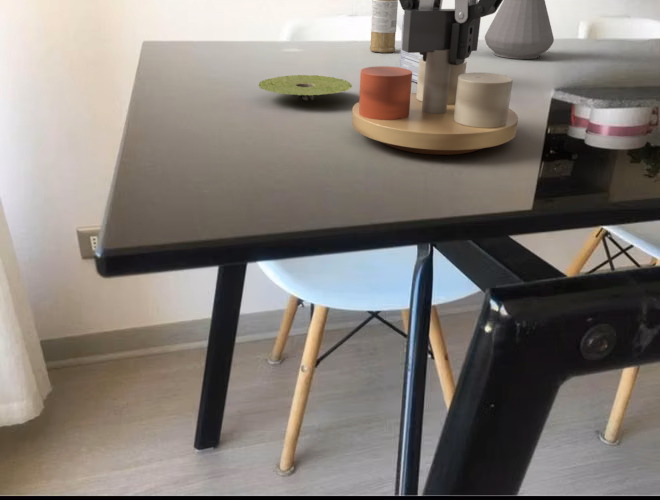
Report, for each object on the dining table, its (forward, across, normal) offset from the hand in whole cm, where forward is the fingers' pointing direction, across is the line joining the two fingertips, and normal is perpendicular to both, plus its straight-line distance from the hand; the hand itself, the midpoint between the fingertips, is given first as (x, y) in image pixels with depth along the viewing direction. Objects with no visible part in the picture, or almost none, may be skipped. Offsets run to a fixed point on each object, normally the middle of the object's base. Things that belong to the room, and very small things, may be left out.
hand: (443, 61), depth 60 cm
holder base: (+7, 0, 0) cm, 7 cm away
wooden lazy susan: (+6, 0, 0) cm, 6 cm away
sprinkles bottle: (+8, +30, -44) cm, 54 cm away
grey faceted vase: (+9, +5, -55) cm, 56 cm away
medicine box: (+8, +13, -25) cm, 29 cm away
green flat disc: (+8, +20, -5) cm, 22 cm away
